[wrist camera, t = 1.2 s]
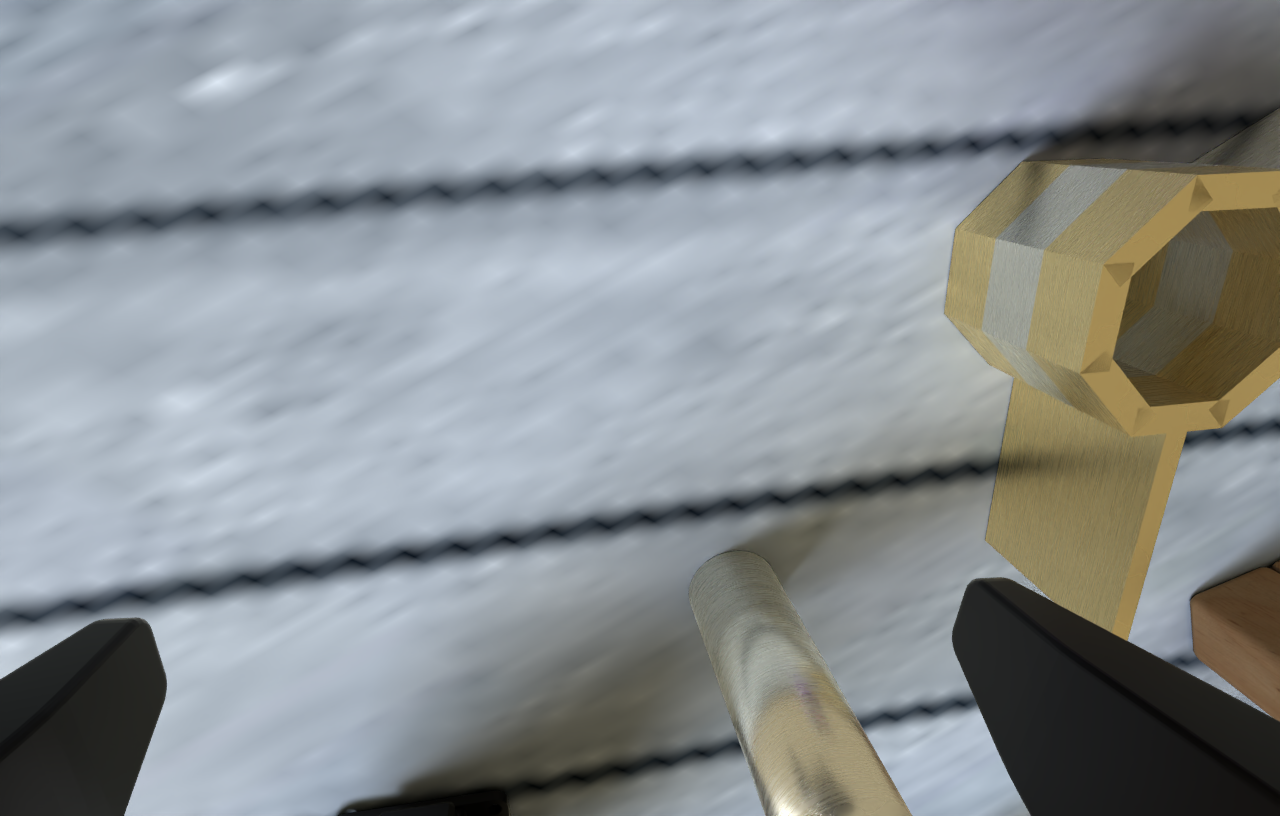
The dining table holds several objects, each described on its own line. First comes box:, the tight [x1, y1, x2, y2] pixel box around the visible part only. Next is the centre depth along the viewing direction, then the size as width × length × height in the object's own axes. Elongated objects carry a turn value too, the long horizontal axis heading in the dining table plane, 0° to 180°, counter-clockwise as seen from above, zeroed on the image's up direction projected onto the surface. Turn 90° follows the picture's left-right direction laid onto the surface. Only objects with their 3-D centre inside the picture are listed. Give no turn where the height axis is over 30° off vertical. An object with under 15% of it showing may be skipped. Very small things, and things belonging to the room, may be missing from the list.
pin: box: [689, 551, 912, 816], centre depth 21 cm, size 3×3×10 cm
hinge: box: [944, 108, 1280, 641], centre depth 21 cm, size 16×12×6 cm
